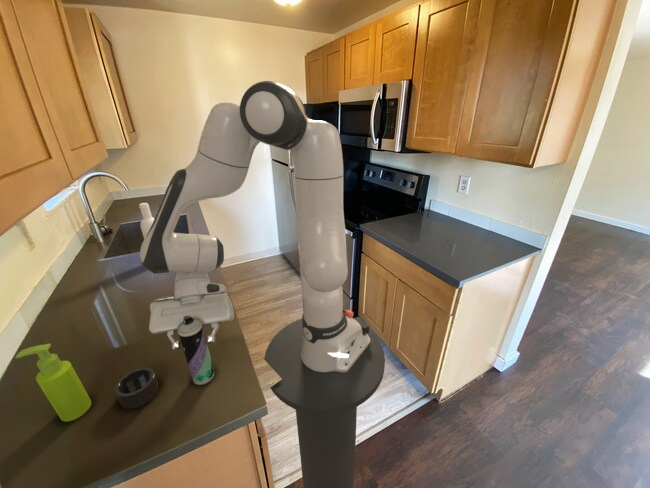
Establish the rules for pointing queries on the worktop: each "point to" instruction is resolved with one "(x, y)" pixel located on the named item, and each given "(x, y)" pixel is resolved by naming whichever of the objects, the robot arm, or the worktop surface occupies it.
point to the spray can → (196, 350)
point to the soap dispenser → (59, 383)
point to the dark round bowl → (136, 388)
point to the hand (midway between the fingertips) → (194, 345)
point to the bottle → (145, 218)
